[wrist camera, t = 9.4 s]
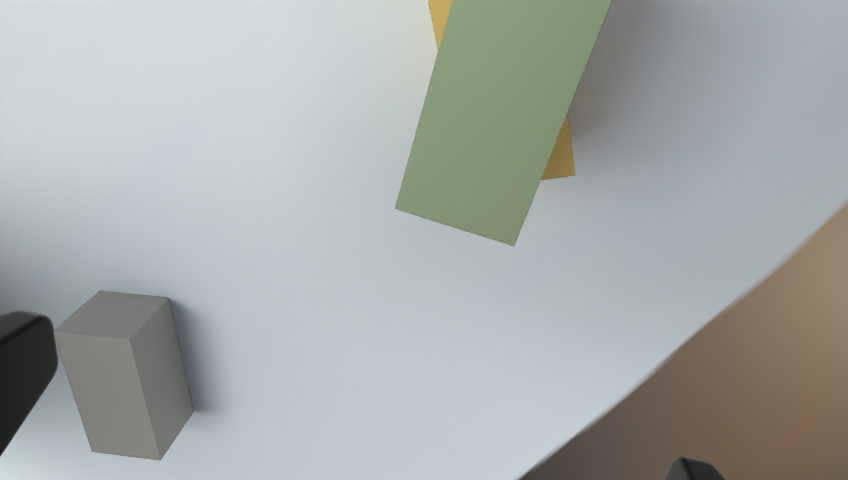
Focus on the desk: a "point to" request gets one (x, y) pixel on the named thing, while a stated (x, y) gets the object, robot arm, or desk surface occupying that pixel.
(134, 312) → the slate brick
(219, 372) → the desk surface
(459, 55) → the sage brick
